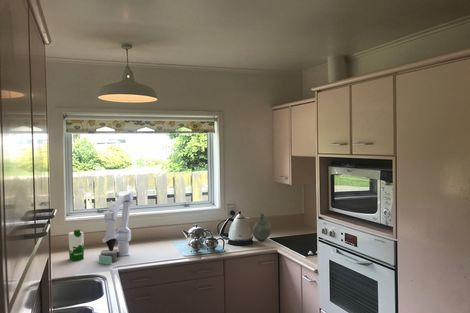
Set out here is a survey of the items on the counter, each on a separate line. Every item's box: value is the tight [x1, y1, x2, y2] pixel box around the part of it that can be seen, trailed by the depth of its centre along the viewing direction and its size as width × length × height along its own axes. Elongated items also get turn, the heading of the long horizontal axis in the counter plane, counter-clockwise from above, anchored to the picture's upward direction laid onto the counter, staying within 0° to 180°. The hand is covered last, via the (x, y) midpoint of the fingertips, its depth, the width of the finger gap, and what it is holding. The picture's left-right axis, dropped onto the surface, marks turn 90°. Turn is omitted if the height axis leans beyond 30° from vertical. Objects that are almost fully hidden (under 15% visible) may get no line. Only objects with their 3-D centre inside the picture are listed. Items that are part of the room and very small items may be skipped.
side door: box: [98, 254, 113, 266], centre depth 243 cm, size 1×10×5 cm, turn 71°
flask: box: [252, 212, 272, 242], centre depth 300 cm, size 12×17×22 cm
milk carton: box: [68, 229, 85, 262], centre depth 253 cm, size 9×9×20 cm
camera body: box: [99, 248, 121, 263], centre depth 251 cm, size 8×12×6 cm
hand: (111, 250), depth 245 cm, fingers closed
